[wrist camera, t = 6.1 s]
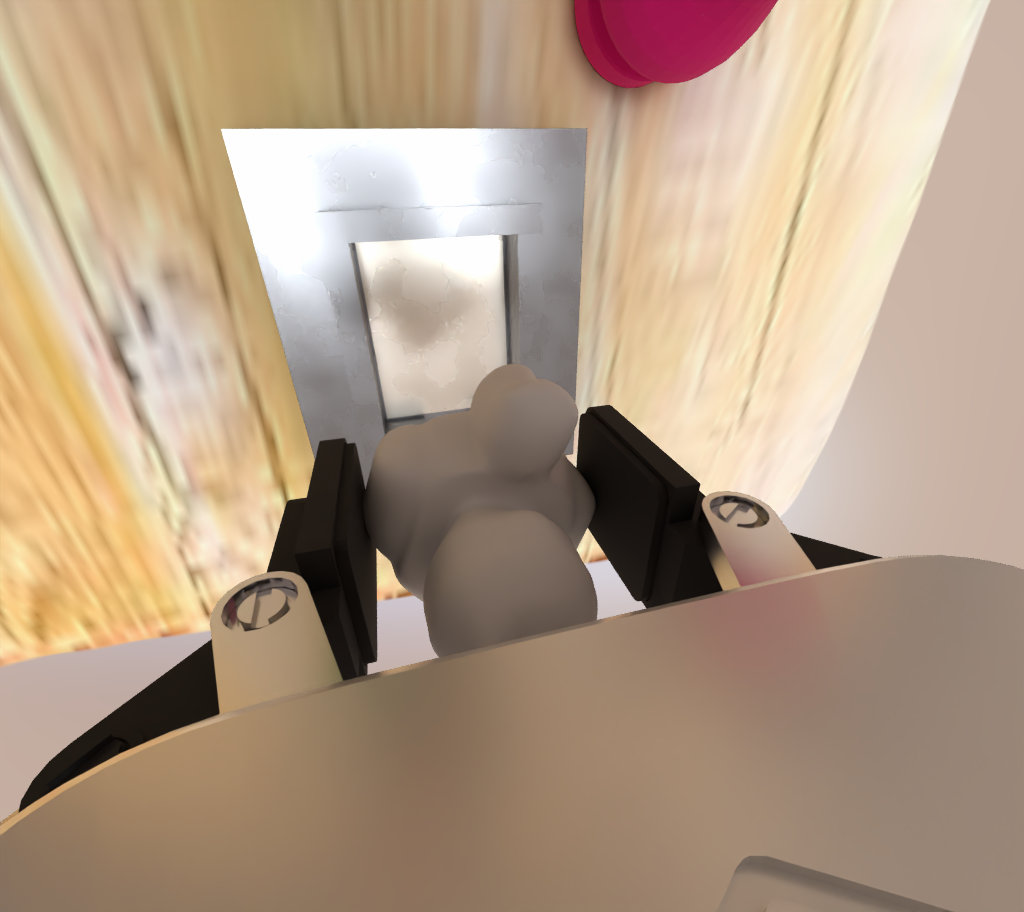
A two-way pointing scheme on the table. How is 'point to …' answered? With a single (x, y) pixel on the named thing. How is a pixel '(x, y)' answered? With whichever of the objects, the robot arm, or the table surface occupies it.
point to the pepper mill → (664, 36)
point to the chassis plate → (414, 265)
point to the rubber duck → (487, 514)
